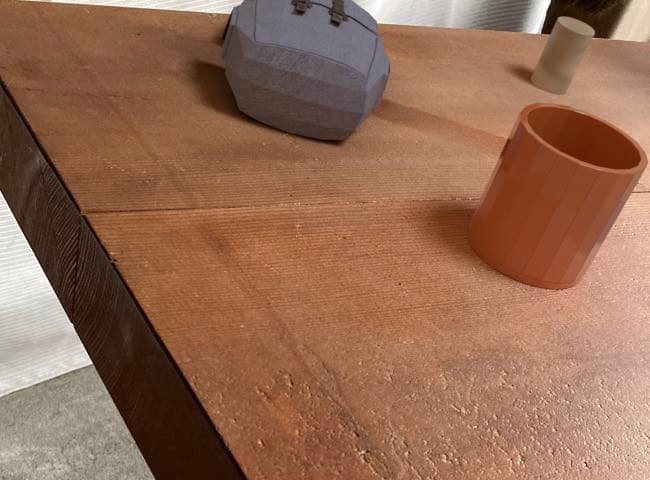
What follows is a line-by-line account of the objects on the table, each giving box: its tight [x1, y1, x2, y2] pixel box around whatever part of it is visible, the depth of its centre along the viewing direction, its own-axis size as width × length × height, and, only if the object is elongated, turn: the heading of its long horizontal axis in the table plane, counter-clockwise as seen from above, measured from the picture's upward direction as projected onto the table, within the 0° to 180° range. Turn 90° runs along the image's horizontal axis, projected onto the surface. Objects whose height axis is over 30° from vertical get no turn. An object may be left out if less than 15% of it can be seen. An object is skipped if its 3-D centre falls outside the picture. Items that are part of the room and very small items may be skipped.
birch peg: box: [530, 16, 596, 96], centre depth 101 cm, size 4×4×8 cm
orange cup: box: [466, 102, 649, 290], centre depth 77 cm, size 10×10×10 cm
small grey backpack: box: [220, 0, 391, 141], centre depth 88 cm, size 15×8×20 cm
